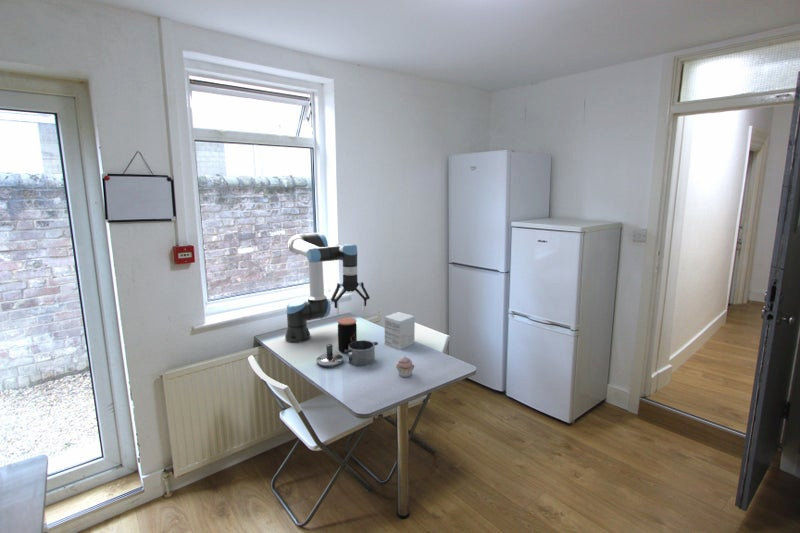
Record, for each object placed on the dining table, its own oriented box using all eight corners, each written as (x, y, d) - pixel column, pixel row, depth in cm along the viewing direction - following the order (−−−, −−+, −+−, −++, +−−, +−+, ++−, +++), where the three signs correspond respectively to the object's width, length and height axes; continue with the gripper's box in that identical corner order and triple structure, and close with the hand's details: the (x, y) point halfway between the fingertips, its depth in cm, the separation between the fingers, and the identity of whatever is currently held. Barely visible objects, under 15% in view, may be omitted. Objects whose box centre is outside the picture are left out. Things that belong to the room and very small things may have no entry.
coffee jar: (353, 354, 225) (353, 324, 222) (335, 353, 228) (334, 322, 224) (359, 347, 236) (358, 318, 232) (342, 345, 238) (341, 316, 234)
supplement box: (398, 338, 251) (398, 311, 247) (414, 343, 242) (415, 316, 239) (383, 344, 241) (383, 316, 237) (400, 350, 232) (400, 321, 229)
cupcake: (405, 369, 208) (405, 351, 206) (418, 375, 202) (418, 356, 200) (391, 374, 202) (392, 356, 200) (404, 381, 195) (404, 362, 193)
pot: (351, 370, 206) (351, 354, 204) (338, 361, 217) (338, 345, 215) (384, 360, 218) (384, 345, 216) (370, 352, 229) (370, 337, 227)
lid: (312, 361, 216) (311, 344, 214) (335, 355, 225) (334, 338, 223) (323, 371, 206) (323, 353, 204) (347, 364, 214) (347, 346, 212)
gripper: (326, 276, 201) (327, 316, 205) (375, 274, 208) (375, 313, 212) (325, 273, 208) (326, 312, 212) (372, 271, 215) (372, 308, 219)
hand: (350, 312), depth 212 cm, fingers open, 13 cm apart
